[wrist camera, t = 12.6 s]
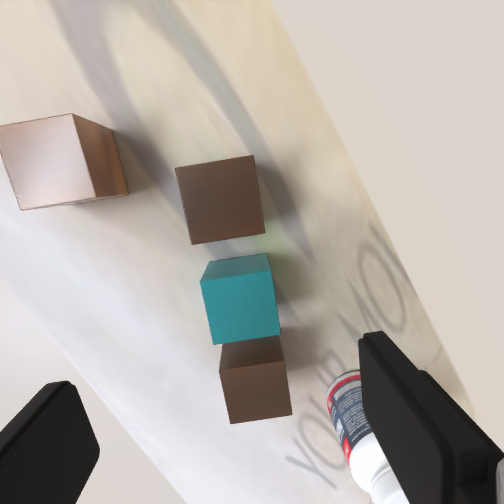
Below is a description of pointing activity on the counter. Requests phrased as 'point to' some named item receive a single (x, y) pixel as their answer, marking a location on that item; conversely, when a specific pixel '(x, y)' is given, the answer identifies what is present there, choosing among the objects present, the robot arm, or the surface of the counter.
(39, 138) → the caramel wooden cube
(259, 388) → the brown cube
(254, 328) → the teal toy cube
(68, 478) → the robot arm
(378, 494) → the pill bottle
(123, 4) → the counter surface
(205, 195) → the taupe block
